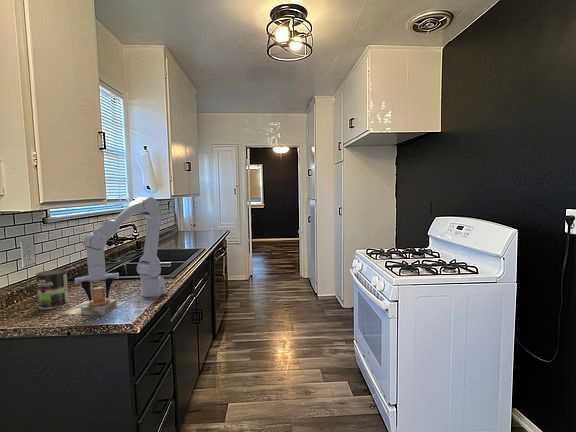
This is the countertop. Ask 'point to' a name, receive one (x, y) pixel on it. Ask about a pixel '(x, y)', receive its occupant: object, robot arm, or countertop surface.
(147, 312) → the countertop surface
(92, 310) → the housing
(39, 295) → the coffee can
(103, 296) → the end cover
